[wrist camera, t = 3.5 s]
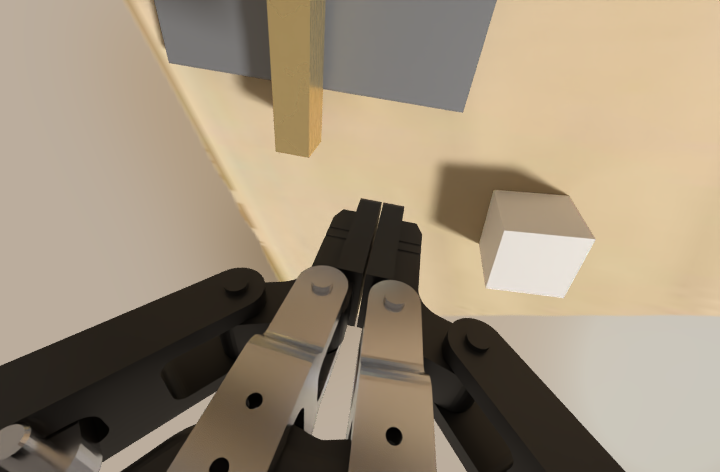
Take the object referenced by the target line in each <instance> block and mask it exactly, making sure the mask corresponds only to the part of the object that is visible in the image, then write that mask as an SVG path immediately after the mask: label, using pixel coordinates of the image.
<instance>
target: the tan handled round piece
mask: <svg viewBox="0 0 720 472" xmlns="http://www.w3.org/2000/svg"><path fill="white" fill-rule="evenodd" d="M325 4H326V0H267V14H268V31H269V47H270V64H271V80H272V97H273V113H274V130H275V147H276V152H281V153H287V154H292V155H297V156H303V157H308V158H309V157H310V156H311V154H312V153H313V151H314V150H315V149H316V147H317V146H318V145H319V143H320V142H321V128H322V97H323V66H324V35H325Z"/></svg>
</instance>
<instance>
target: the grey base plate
mask: <svg viewBox="0 0 720 472" xmlns="http://www.w3.org/2000/svg"><path fill="white" fill-rule="evenodd" d="M496 1H497V0H326V4H325V35H324V66H323V89H326V90H332V91H338V92H344V93H350V94H356V95H361V96H367V97H373V98H379V99H385V100H391V101H397V102H403V103H409V104H415V105H421V106H427V107H432V108H438V109H444V110H450V111H456V112H462V113H463V111H464V107H465V104H466V101H467V97H468V94H469V91H470V87H471V84H472V81H473V77H474V74H475V71H476V67H477V64H478V61H479V57H480V54H481V51H482V47H483V44H484V41H485V37H486V34H487V31H488V27H489V24H490V21H491V17H492V14H493V11H494V8H495V4H496ZM154 2H155V6H156V10H157V14H158V18H159V23H160V27H161V31H162V35H163V39H164V44H165V48H166V52H167V56H168V61H169V63H172V64H178V65H184V66H190V67H196V68H202V69H208V70H214V71H220V72H225V73H231V74H237V75H243V76H249V77H255V78H261V79H267V80H271V64H270V47H269V31H268V14H267V0H154Z"/></svg>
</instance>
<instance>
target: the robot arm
mask: <svg viewBox="0 0 720 472" xmlns="http://www.w3.org/2000/svg"><path fill="white" fill-rule="evenodd" d="M381 204H382V202H378V201H373V200H368V199H363V198H361V200H360V202H359V205H358V208H357V211H356V212H354V211H349V210H344V209H343V210H342V211H341V212H339V213H338V214H337V215H335V216H334V218H333V220H332V222H331V224H330V227H329V229H328V231H327V233H326V236H325V238H324V240H323V242H322V245H321V247H320V249H319V251H318V254H317V256H316V258H315V260H314V263H313V265H312V267H310V268H308V269H306V270H304V271H303V272H302V273H301V274H300V275H299V276H298V278H297V279H295V280H291V281H285V282H268V283H265V281H264V278H263V277H262V275H261V274H259V273H258V272H257V271H255V270H252V269H249V268H234V269H229V270H227V271H224V272H221V273H219V274H217V275H214V276H212V277H210V278H207V279H205V280H203V281H200V282H198V283H196V284H193V285H191V286H188V287H186V288H184V289H181V290H179V291H176V292H174V293H172V294H169V295H167V296H165V297H162V298H160V299H158V300H155V301H153V302H150V303H148V304H146V305H143V306H141V307H139V308H136V309H134V310H131V311H129V312H127V313H124V314H122V315H120V316H117V317H115V318H113V319H110V320H108V321H106V322H103V323H101V324H98V325H96V326H94V327H91V328H89V329H86V330H84V331H82V332H79V333H77V334H75V335H72V336H70V337H68V338H65V339H63V340H60V341H58V342H56V343H53V344H51V345H49V346H46V347H44V348H42V349H39V350H37V351H34V352H32V353H30V354H27V355H25V356H23V357H20V358H18V359H16V360H13V361H11V362H8V363H6V364H4V365H1V366H0V472H99V470H100V467H101V464H102V462H104V461H105V460H107V459H108V458H110V457H111V456H113V455H115V454H116V453H118V452H120V451H121V450H123V449H124V448H126V447H128V446H129V445H131V444H132V443H134V442H136V441H137V440H139V439H141V438H142V437H144V436H145V435H147V434H149V433H150V432H152V431H153V430H155V429H157V428H158V427H160V426H161V425H163V424H165V423H166V422H168V421H169V420H171V419H173V418H174V417H176V416H177V415H179V414H180V413H182V412H184V411H185V410H187V409H189V408H190V407H192V406H193V405H195V404H197V403H198V402H200V401H201V400H203V399H205V398H206V397H208V396H210V395H211V394H213V393H214V392H216V391H217V392H216V393H215V395H214V396H213V398H212V400H211V401H210V403H209V404H208V406H207V408H206V409H205V411H204V412H203V414H202V416H201V417H200V419H199V421H198V422H197V424H195V425H193V426H190V427H188V428H186V429H184V430H183V431H181V432H179V433H177V434H175V435H173V436H172V437H170V438H169V439H167V440H166V441H164V442H163V443H162V444H160V445H159V446H157V447H156V448H154V449H153V450H151V451H150V452H149V453H147V454H146V455H144V456H143V457H141V458H140V459H138V460H137V461H135V462H134V463H133V464H131V465H130V466H128V467H127V468H125V469H124V470H122V471H121V472H437V469H436V451H435V434H434V419H435V421H436V423H437V424H438V426H439V427H440V429H441V431H442V432H443V434H444V435H445V437H446V439H447V440H448V442H449V443H450V445H451V447H452V448H453V450H454V451H455V453H456V455H457V456H458V458H459V460H460V461H461V463H462V464H463V466H464V467H465V469H466V471H467V472H625V471H624V470H623V469H622V467H621V466H620V465H619V464H618V463H617V462H616V461H615V460H614V459H613V458H612V457H611V455H610V454H609V453H608V452H607V451H606V450H605V449H604V448H603V447H602V446H601V445H600V444H599V443H598V441H597V440H596V439H595V438H594V437H593V436H592V435H591V434H590V433H589V432H588V430H587V429H586V428H585V427H584V426H583V425H582V424H581V423H580V422H579V421H578V420H577V419H576V417H575V416H574V415H573V414H572V413H571V412H570V411H569V410H568V409H567V408H566V407H565V405H564V404H563V403H562V402H561V401H560V400H559V399H558V398H557V397H556V396H555V395H554V393H553V392H552V391H551V390H550V389H549V388H548V387H547V386H546V385H545V384H544V383H543V382H542V380H541V379H540V378H539V377H538V376H537V375H536V374H535V373H534V372H533V371H532V370H531V368H530V367H529V366H528V365H527V364H526V363H525V362H524V361H523V360H522V359H521V358H520V356H519V355H518V354H517V353H516V352H515V351H514V350H513V349H512V348H511V347H510V346H509V345H508V343H507V342H506V341H505V340H504V339H503V338H502V337H501V336H500V335H499V334H498V332H496V331H495V330H494V329H493V328H492V327H491V326H489V325H488V324H486V323H484V322H482V321H480V320H476V319H472V318H462V319H459V320H457V321H455V322H454V323H451V322H449V321H447V320H445V319H443V318H441V317H439V316H438V315H436V314H434V313H433V312H431V311H430V310H429V309H428V308H427V307H426V306H425V305H424V304H423V302H422V301H421V299H420V296H419V292H418V285H419V270H420V254H421V241H422V233H421V232H420V230H419V228H418V226H417V224H415V223H410V222H405V221H402V218H403V212H404V206H399V205H394V204H388V203H383V207H382V211H381V215H380V210H381ZM379 215H380V219H379ZM378 221H379V223H378ZM362 293H363V294H362ZM361 297H362V300H361ZM360 301H361V306H360V311H359V317H358V323H357V327H360V328H362V333H361V338H360V344H359V349H358V355H357V363H356V370H355V377H354V385H353V392H352V400H351V407H350V414H349V421H348V427H347V434H346V439H344V440H320V439H318V438H315V437H314V436H312V432H313V429H314V425H315V422H316V417H317V413H318V409H319V406H320V403H321V400H322V398H323V395H324V392H325V389H326V386H327V384H328V381H329V378H330V375H331V373H332V369H333V367H334V364H335V361H336V358H337V356H338V353H339V350H340V347H341V343H342V341H343V339H344V335H345V331H346V328H347V325H350V326H355V321H356V318H357V314H358V309H359V305H360Z"/></svg>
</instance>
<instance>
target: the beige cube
mask: <svg viewBox="0 0 720 472" xmlns="http://www.w3.org/2000/svg"><path fill="white" fill-rule="evenodd" d="M595 240H596V239H595V237H594V236H593V234H592V232H591V231H590V229H589V227H588V226H587V224H586V223H585V221H584V219H583V218H582V216H581V214H580V213H579V211H578V209H577V208H576V206H575V204H574V203H573V201H572V199H571V198H570V196H567V195H554V194H542V193H529V192H517V191H504V190H493V194H492V198H491V201H490V205H489V209H488V212H487V216H486V220H485V223H484V227H483V231H482V235H481V238H480V242H479V247H480V254H481V260H482V267H483V273H484V280H485V287H486V288H488V289H496V290H504V291H512V292H520V293H528V294H536V295H544V296H552V297H560V298H564V296H565V295H566V293H567V291H568V289H569V287H570V285H571V284H572V282H573V280H574V278H575V276H576V274H577V273H578V271H579V269H580V267H581V265H582V263H583V262H584V260H585V258H586V256H587V254H588V252H589V251H590V249H591V247H592V245H593V243H594V242H595Z"/></svg>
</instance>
